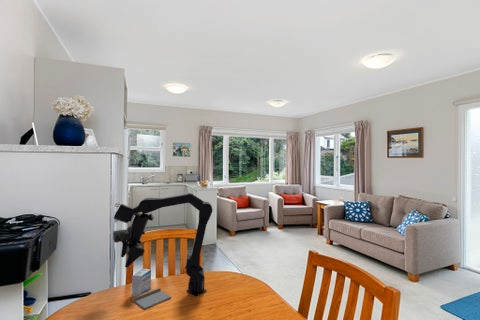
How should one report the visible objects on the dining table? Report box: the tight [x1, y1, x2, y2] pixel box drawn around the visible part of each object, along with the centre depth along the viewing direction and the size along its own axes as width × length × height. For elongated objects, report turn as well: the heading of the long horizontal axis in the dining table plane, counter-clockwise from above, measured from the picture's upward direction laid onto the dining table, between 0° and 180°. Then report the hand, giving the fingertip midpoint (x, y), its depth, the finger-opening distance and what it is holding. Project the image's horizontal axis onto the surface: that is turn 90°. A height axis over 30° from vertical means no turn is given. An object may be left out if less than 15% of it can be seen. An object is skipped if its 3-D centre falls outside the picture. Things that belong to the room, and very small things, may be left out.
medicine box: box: [131, 268, 152, 297], centre depth 113 cm, size 8×4×9 cm, turn 168°
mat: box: [132, 286, 172, 311], centre depth 107 cm, size 12×9×2 cm
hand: (124, 261), depth 110 cm, fingers open, 9 cm apart
